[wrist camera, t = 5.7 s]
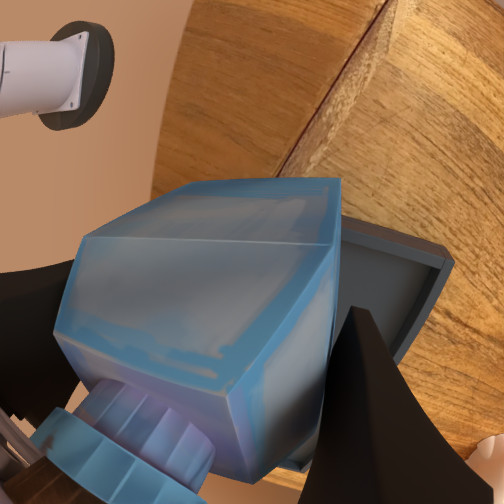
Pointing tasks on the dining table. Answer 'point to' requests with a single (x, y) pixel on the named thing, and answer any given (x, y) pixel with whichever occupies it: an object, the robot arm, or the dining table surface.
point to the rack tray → (383, 292)
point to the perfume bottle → (193, 343)
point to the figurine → (490, 464)
